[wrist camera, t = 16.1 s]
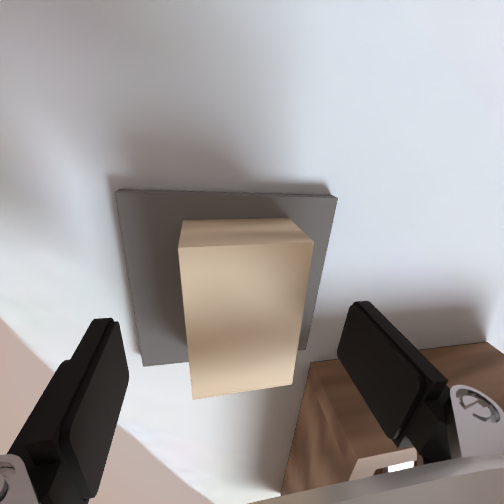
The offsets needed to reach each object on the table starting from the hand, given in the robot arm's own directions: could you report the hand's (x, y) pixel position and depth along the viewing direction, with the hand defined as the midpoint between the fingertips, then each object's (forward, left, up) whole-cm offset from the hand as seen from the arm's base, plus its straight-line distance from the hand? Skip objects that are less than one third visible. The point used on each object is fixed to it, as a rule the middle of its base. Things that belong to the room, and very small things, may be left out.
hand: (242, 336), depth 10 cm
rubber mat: (0, 0, -4) cm, 4 cm away
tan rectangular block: (0, 0, -4) cm, 4 cm away
